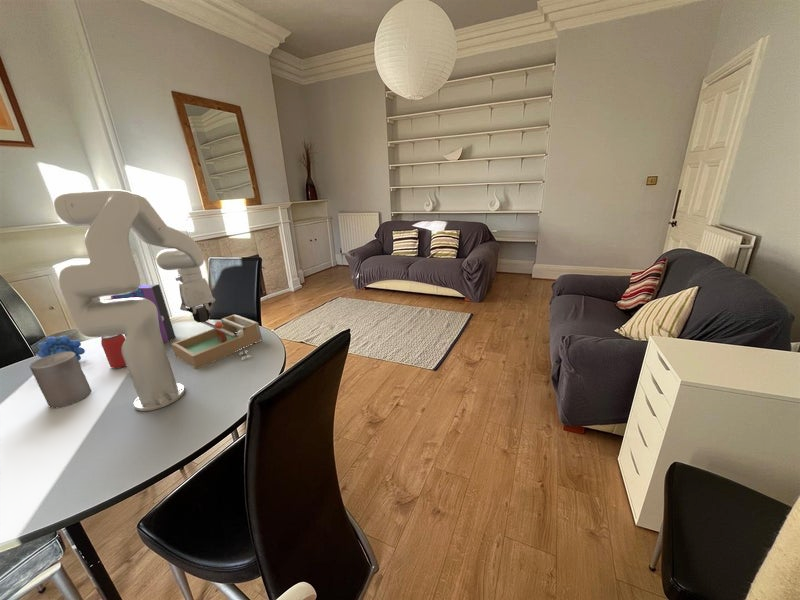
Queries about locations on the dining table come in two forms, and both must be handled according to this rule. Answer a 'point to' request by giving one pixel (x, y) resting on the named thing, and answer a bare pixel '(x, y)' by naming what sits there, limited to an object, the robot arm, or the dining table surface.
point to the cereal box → (157, 298)
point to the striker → (219, 331)
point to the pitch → (217, 342)
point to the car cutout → (244, 353)
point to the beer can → (114, 350)
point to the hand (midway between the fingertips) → (202, 319)
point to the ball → (240, 333)
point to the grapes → (60, 346)
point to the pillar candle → (60, 379)
